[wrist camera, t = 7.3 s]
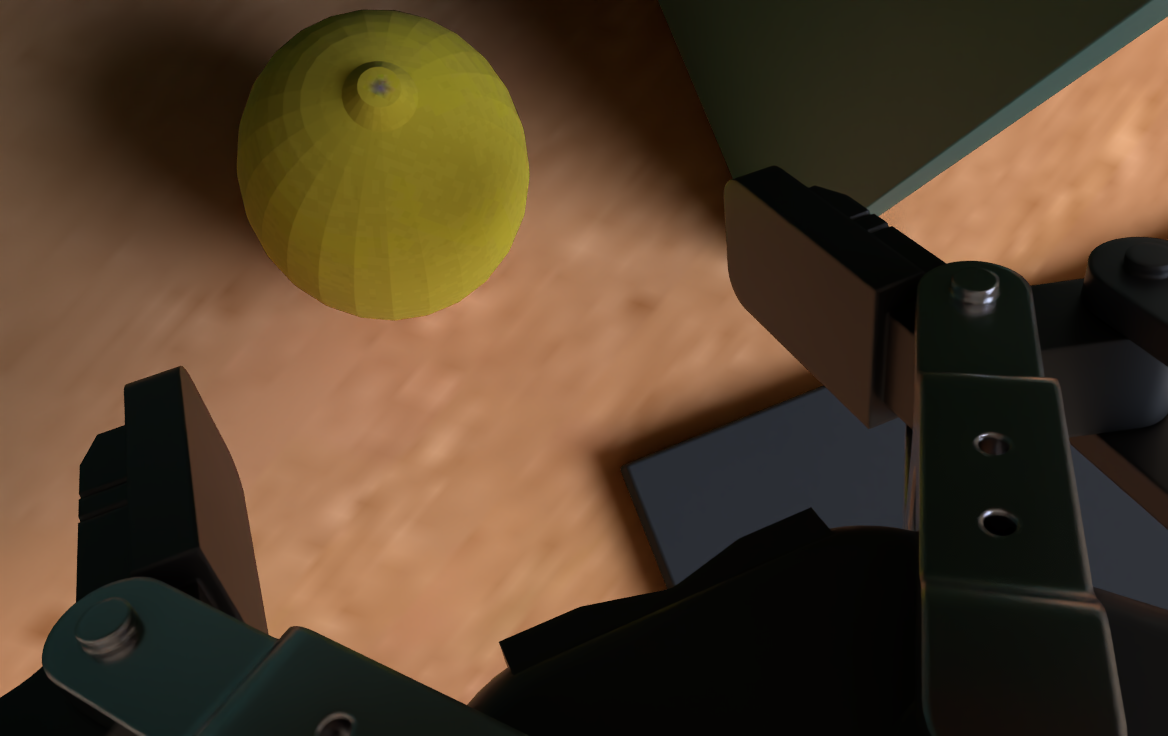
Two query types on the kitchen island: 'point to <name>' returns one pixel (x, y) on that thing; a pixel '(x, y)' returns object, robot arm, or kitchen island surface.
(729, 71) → the cupboard
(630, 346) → the kitchen island surface
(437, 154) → the lemon
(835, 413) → the mat
